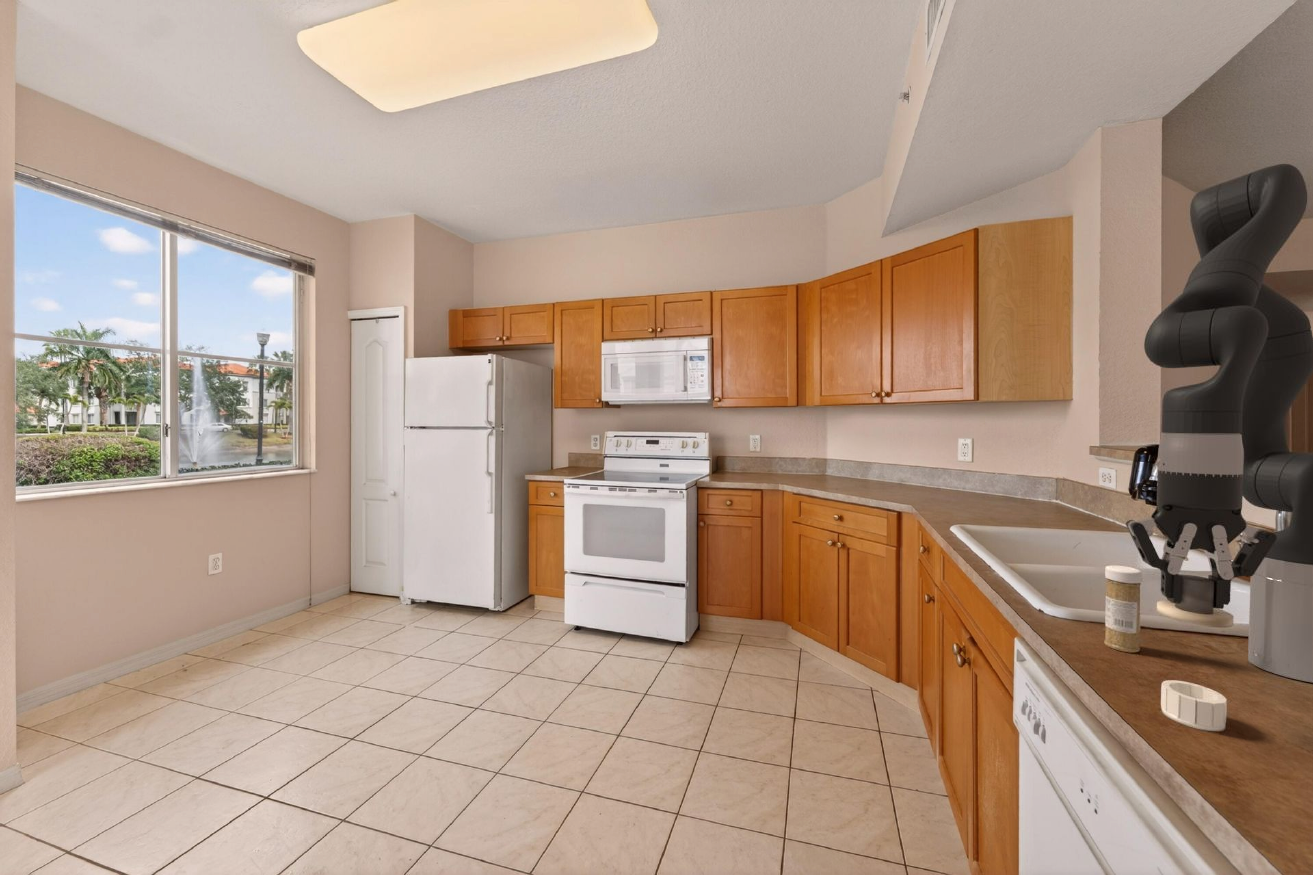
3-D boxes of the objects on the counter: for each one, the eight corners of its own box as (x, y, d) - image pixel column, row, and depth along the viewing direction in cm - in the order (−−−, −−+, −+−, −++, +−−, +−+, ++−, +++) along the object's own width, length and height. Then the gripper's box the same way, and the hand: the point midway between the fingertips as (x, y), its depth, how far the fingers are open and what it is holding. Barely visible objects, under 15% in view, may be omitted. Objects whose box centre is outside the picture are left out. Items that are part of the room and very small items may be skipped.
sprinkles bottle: (1143, 649, 87) (1145, 569, 87) (1134, 656, 85) (1136, 573, 84) (1108, 639, 91) (1110, 563, 91) (1099, 646, 89) (1101, 567, 88)
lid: (1188, 607, 70) (1189, 570, 70) (1249, 626, 64) (1251, 586, 64) (1142, 608, 70) (1143, 571, 70) (1199, 628, 63) (1200, 587, 63)
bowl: (1187, 705, 70) (1188, 679, 70) (1239, 730, 64) (1239, 702, 64) (1149, 707, 70) (1149, 681, 69) (1197, 732, 64) (1198, 704, 64)
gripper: (1136, 469, 66) (1132, 604, 66) (1298, 474, 60) (1292, 624, 60) (1116, 464, 73) (1113, 588, 73) (1260, 469, 66) (1255, 604, 67)
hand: (1194, 603), depth 67 cm, fingers closed on lid, 3 cm apart
